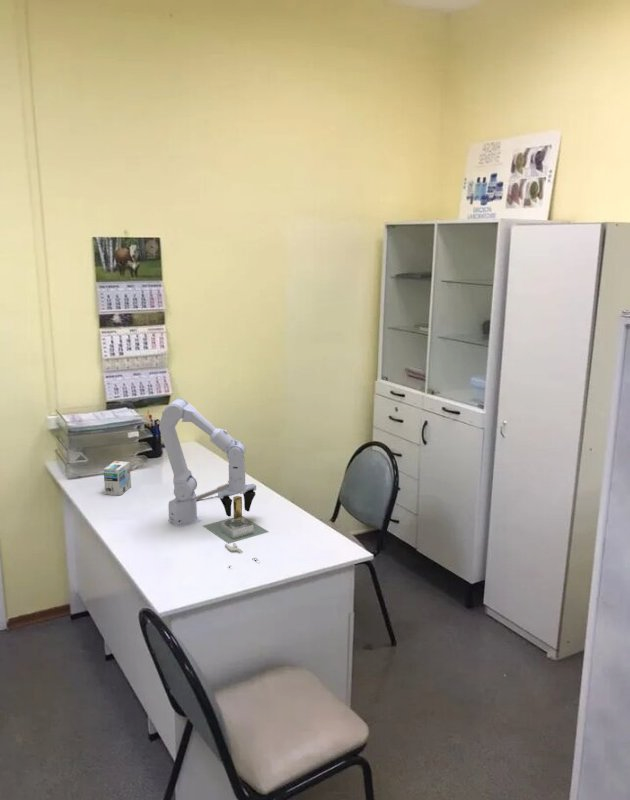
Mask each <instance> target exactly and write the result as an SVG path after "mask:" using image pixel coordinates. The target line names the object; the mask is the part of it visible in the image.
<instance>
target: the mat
mask: <svg viewBox="0 0 630 800" xmlns="http://www.w3.org/2000/svg"><path fill="white" fill-rule="evenodd" d="M242 518H243V519H245V520H247V521H248V522H250V523H252V524H253V529H254V533H253V534H250V535H246V536H243V537H239V538H236V539H232V538H231V537H229V536H228V535H226V534H225V533H223V532H222V531H221V523H222V522H225V521H229V520H233V519H234V517H229V518H227V519H226V518H225V519H223V520H220V521H216V522H212V523H208V524H205V525H202V527H203V528H204V529H206V530H208V531H209V532H210V533H212V534H214V535H215V536H217V538H219V539H221V540H222V541H223V542H225V543H226V544H227V545H229V544H231V543H232V544H233V543H236V542H239V541H242V540H245V539H249V538H253V537H257V536H260V535H263V534H268V533H269V531H268V530H267V529H265V528H263V527H262V526H261V525H259V524H257V523H255V522H254V521H252V520H250V519H249V518H247V517H246V516H244V515H242Z"/></svg>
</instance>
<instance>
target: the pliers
mask: <svg viewBox="0 0 630 800" xmlns="http://www.w3.org/2000/svg"><path fill="white" fill-rule="evenodd" d="M224 548H225V549H226V550H227V551H228V552H231V553H238V554H239V555H240V554H242V553H243V552H244V551H243V550H242V549H241V548H239V547H238V545H237V544H236V542H233V543H232V546H230V545H229V544H228V543H224ZM253 559H254V560H255V559H256V561H259V559H258V558H257V557H254V558H252V560H253ZM254 560H253V561H254ZM256 561H255V562H256ZM259 562H260V561H259ZM228 566H229V567H232V565H228ZM229 567H228V568H229Z"/></svg>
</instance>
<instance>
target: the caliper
mask: <svg viewBox="0 0 630 800" xmlns="http://www.w3.org/2000/svg"><path fill="white" fill-rule="evenodd" d="M227 488H229V480H227V483H225V484H221V485H219V486H217V487H216V488H214V489H211V490H209V491H206V492H204V493H200V494H198V495H196V502H197V501H200V500H202V499H204V498H207V497H209V496H213V495H216V494H218V492H220V491H223V490H225V489H227Z"/></svg>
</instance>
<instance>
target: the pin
mask: <svg viewBox="0 0 630 800" xmlns="http://www.w3.org/2000/svg"><path fill="white" fill-rule="evenodd" d="M242 499H243V498H242V496H241V495H237V496H236V495H234V496H233V497H232V503H233V505H232V506H233V510H232V511H233V512H232V513H233V518H234V519H236V518H240V517H242V516H243V500H242Z"/></svg>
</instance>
